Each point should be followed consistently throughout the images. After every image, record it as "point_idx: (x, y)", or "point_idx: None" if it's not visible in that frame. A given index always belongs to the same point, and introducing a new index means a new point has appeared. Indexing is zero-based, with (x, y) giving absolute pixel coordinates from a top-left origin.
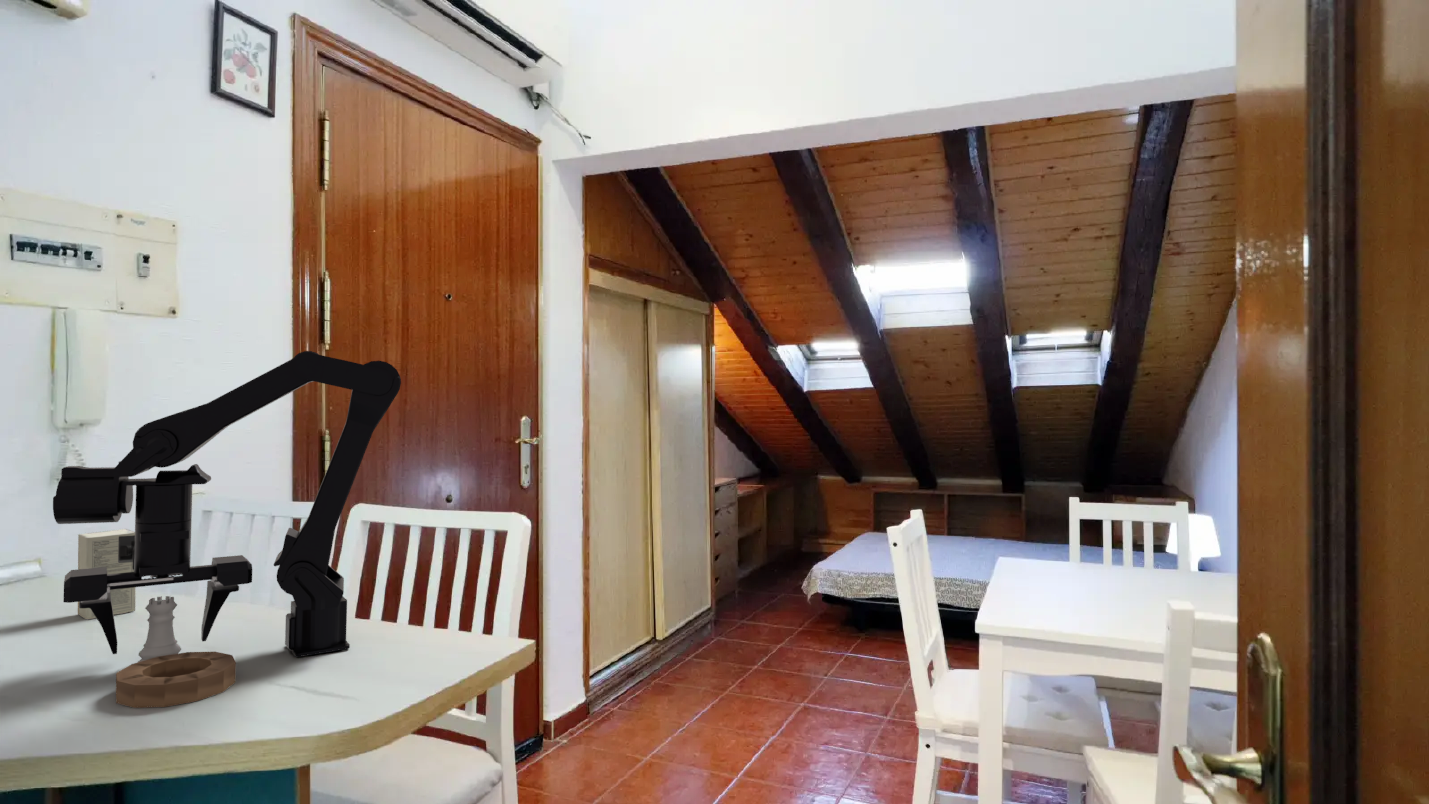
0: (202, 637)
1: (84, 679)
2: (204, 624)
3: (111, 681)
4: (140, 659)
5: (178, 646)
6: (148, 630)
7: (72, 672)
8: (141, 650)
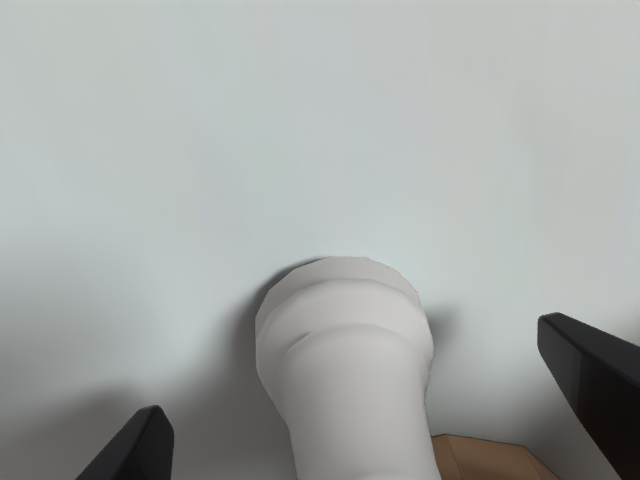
0: (551, 371)
1: (112, 423)
2: (611, 462)
3: (219, 457)
4: (259, 325)
5: (427, 366)
6: (297, 477)
7: (8, 339)
8: (269, 391)
